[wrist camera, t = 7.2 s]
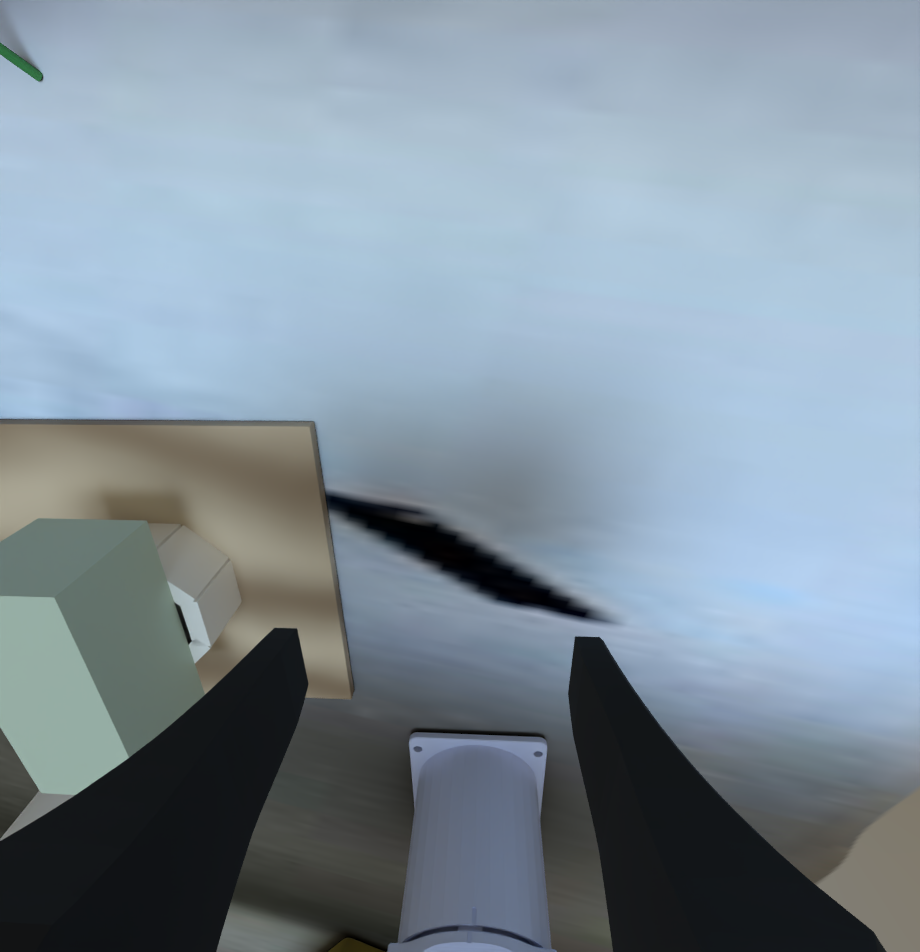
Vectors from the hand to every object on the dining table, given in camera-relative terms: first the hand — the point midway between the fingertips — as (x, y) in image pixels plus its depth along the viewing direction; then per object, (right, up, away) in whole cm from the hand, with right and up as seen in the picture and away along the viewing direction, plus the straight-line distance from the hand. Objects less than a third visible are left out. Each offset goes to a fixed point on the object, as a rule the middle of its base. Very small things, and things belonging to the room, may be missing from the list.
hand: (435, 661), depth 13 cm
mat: (-13, 0, +12) cm, 18 cm away
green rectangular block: (-14, -1, +8) cm, 16 cm away
